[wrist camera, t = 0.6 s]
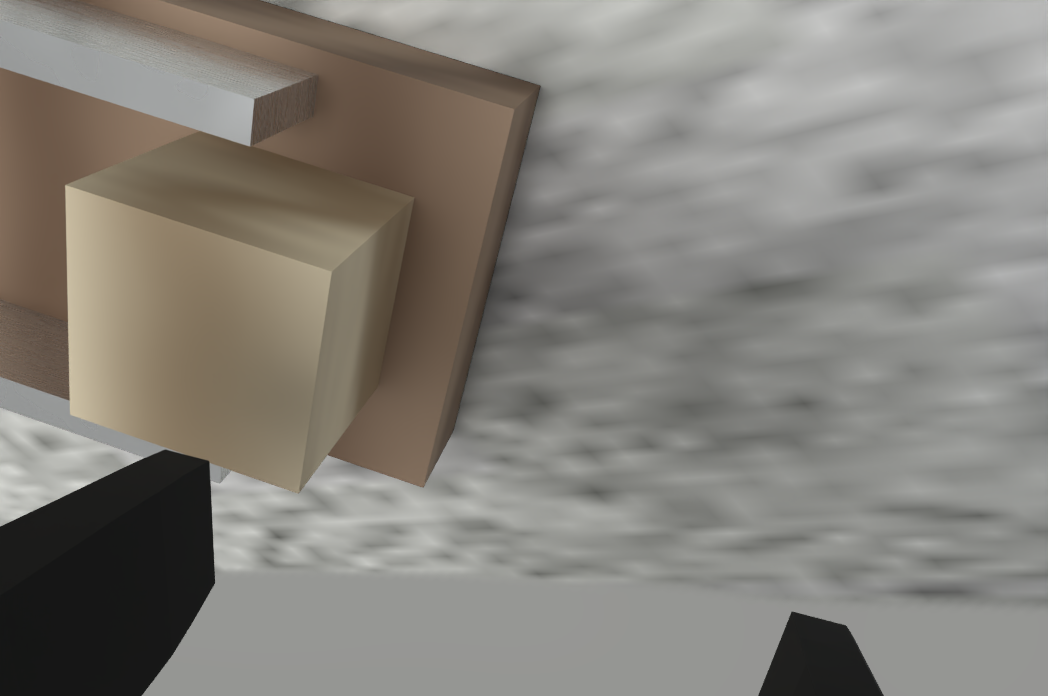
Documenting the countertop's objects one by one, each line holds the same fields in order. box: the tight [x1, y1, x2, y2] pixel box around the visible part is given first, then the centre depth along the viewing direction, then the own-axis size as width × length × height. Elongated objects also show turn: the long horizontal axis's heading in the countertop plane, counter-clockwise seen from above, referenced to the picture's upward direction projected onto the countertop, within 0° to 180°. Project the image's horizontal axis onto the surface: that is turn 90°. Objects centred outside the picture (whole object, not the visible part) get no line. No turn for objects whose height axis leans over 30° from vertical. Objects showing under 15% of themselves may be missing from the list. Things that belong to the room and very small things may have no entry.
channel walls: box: [0, 0, 319, 483], centre depth 17 cm, size 8×8×2 cm
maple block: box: [65, 131, 414, 494], centre depth 16 cm, size 4×4×4 cm
